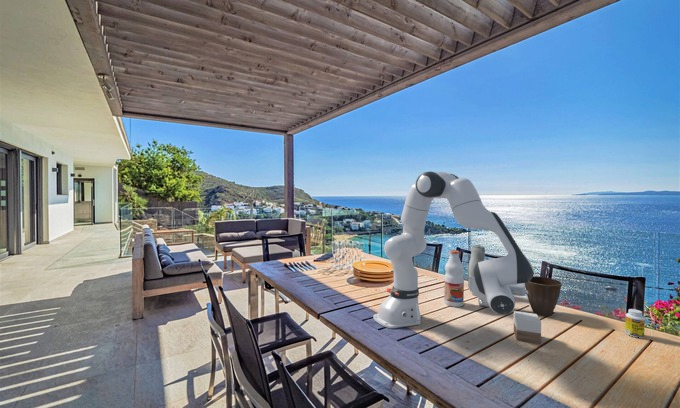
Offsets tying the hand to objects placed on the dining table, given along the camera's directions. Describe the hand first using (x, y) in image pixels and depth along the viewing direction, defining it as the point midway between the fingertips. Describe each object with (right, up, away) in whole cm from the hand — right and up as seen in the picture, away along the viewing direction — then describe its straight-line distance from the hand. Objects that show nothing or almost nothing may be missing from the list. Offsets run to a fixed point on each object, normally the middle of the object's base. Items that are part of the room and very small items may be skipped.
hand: (493, 280), depth 124 cm
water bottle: (+10, -20, +28) cm, 36 cm away
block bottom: (+10, -22, -6) cm, 25 cm away
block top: (+10, -17, -6) cm, 21 cm away
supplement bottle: (+55, -21, -5) cm, 59 cm away
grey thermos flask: (+15, -20, +46) cm, 52 cm away
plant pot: (+32, -21, +18) cm, 42 cm away
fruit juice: (-5, -20, +30) cm, 37 cm away
